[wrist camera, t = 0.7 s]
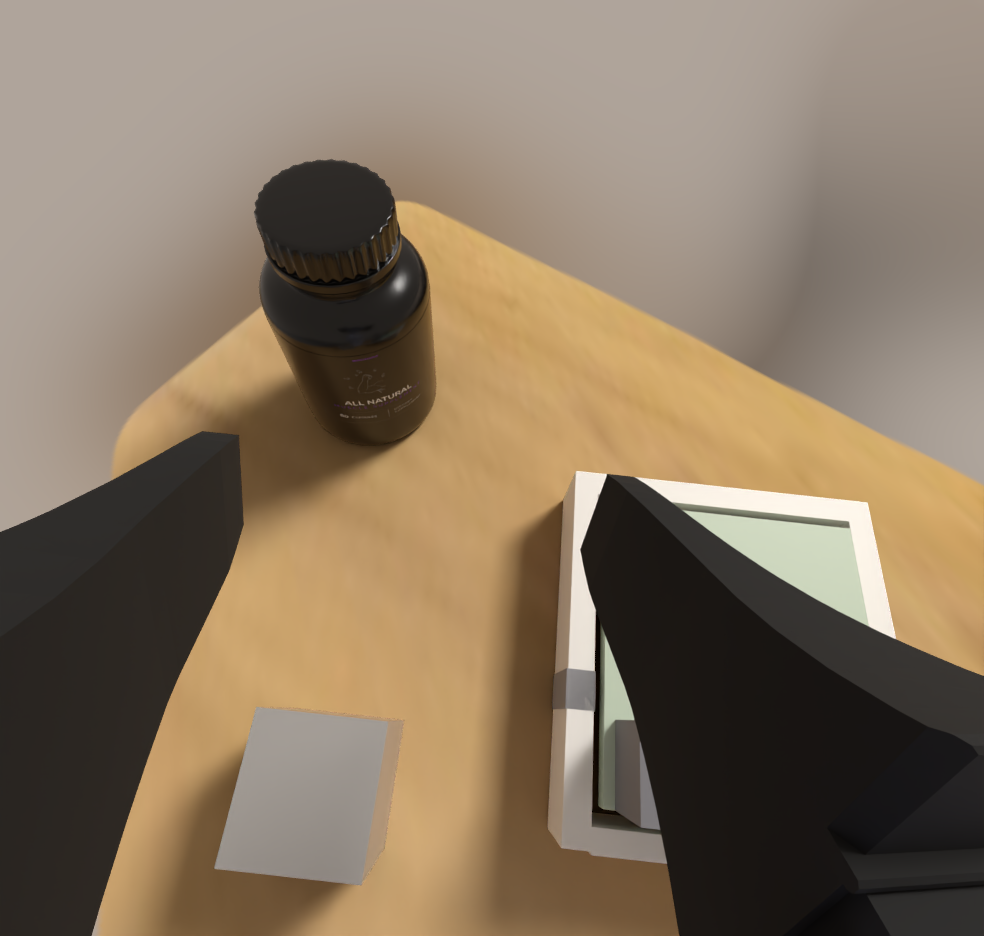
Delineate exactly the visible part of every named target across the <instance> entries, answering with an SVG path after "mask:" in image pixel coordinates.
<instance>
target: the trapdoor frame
mask: <svg viewBox="0 0 984 936" xmlns="http://www.w3.org/2000/svg"><path fill="white" fill-rule="evenodd" d="M606 476H607V474H600V473H591V472H581V471H576V472H575V474H574V476H573V479H572V481H571V483H570V486H569V488H568V490H567V492H566V495H565V497H564V499H563V516H562V537H561V558H560V579H559V599H558V620H557V641H556V662H555V674H554V679H553V700H552V709H553V724H552V745H551V765H550V786H549V807H548V830H549V831H550V833H551V834H552V835H553V837H554V838H555V840H556V841H557V843H558V844H559V846H560V847H561V848H563V849H572V850H580V851H588V852H589V854H590V855H593V856H602V857H610V858H619V859H628V860H637V861H646V862H655V863H663V864H667V861H666V856H665V851H664V846H663V841H662V836H661V831H660V830H658V829H649V828H641V827H639V826H638V825H636V824H635V823H633V822H632V821H630V820H629V819H627V818H626V817H624V816H620V815H611V814H602V813H593V812H592V779H593V726H594V712H595V691H596V671H595V620H596V609H595V607H594V604H593V601H592V598H591V595H590V592H589V589H588V585H587V580H586V576H585V572H584V567H583V562H582V556H581V551H580V548H581V546H582V543H583V540H584V537H585V535H586V532H587V529H588V526H589V523H590V521H591V518H592V515H593V512H594V509H595V507H596V504H597V501H598V498H599V495H600V493H601V490H602V487H603V484H604V482H605V479H606ZM635 478H637V477H635ZM637 479H639V480H640V481H642V482H644V483H645V484H647V485H648V486H650V487H651V488H653V489H654V490H655V491H657V492H658V493H660V494H661V495H662V496H664V497H665V498H667V499H668V500H669V501H671V502H672V503H673V504H675V505H676V506H677V507H679V508H680V509H681V510H684V511H693V512H702V513H711V514H720V515H730V516H739V517H748V518H757V519H766V520H776V521H785V522H794V523H803V524H812V525H821V526H831V527H840V528H849V529H850V531H851V536H852V541H853V546H854V552H855V557H856V562H857V567H858V573H859V578H860V583H861V588H862V594H863V599H864V604H865V609H866V615H867V620H868V625H869V627H871V628H873V629H875V630H877V631H879V632H881V633H883V634H885V635H888V636H890V637H892V638H894V639H896V637H895V632H894V627H893V622H892V618H891V613H890V608H889V603H888V599H887V594H886V589H885V584H884V580H883V575H882V570H881V565H880V560H879V556H878V551H877V546H876V541H875V537H874V532H873V527H872V522H871V517H870V513H869V508H868V503H867V502H858V501H848V500H839V499H830V498H821V497H811V496H802V495H793V494H784V493H775V492H765V491H756V490H747V489H738V488H729V487H719V486H710V485H701V484H692V483H683V482H673V481H664V480H655V479H646V478H637Z"/></svg>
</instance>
